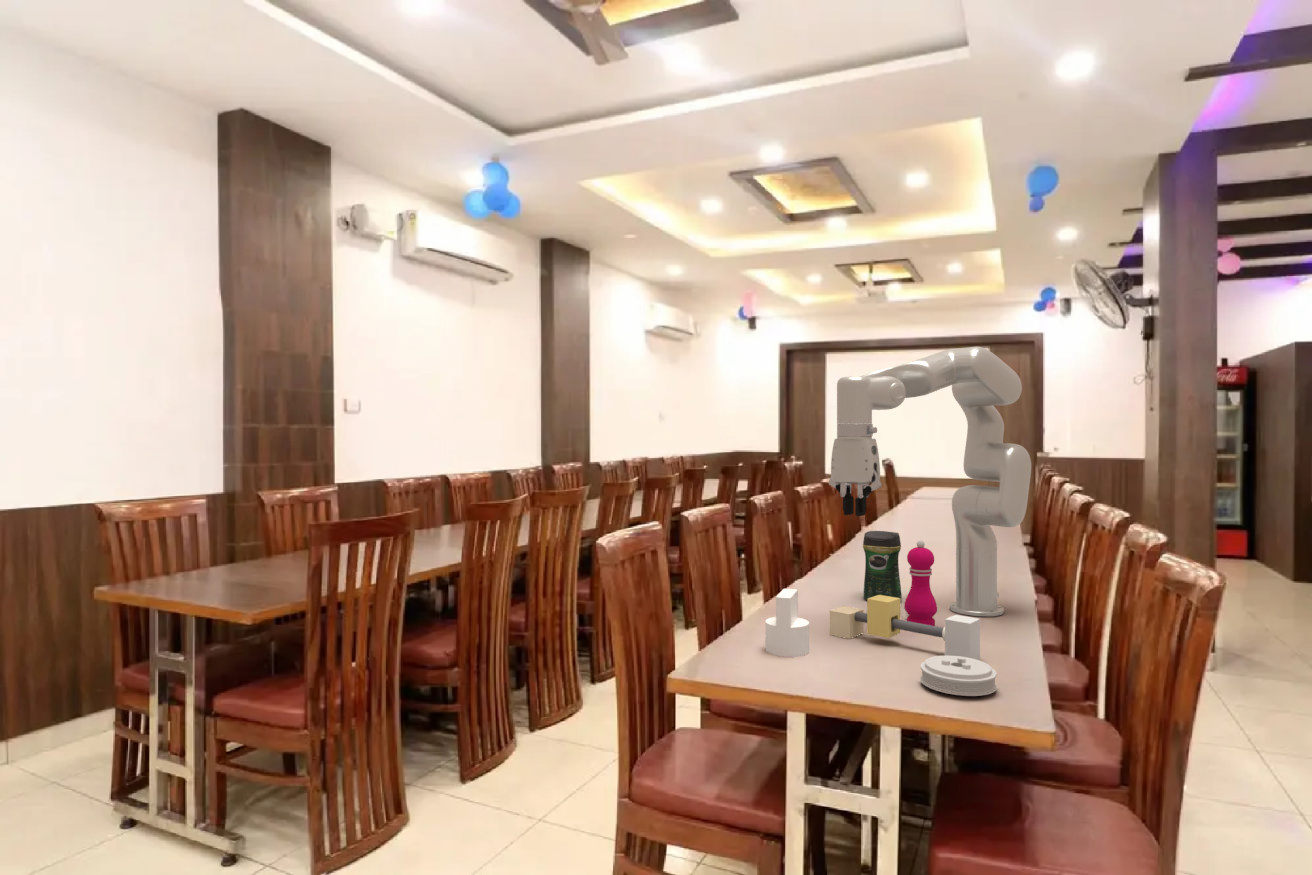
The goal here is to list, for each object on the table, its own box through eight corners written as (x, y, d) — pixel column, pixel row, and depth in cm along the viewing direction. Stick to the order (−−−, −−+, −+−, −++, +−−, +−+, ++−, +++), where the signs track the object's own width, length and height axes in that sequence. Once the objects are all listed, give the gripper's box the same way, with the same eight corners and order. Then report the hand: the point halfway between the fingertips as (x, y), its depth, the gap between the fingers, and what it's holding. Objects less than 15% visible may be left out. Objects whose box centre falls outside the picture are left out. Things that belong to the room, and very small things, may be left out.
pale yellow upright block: (878, 628, 167) (878, 594, 167) (900, 633, 163) (900, 598, 163) (867, 633, 163) (867, 598, 163) (888, 638, 160) (888, 602, 160)
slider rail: (843, 629, 173) (843, 594, 173) (980, 657, 152) (980, 618, 152) (829, 634, 169) (829, 599, 169) (969, 664, 148) (969, 624, 148)
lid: (985, 678, 140) (985, 651, 140) (1005, 703, 128) (1005, 673, 128) (914, 675, 142) (914, 649, 142) (927, 699, 130) (927, 670, 130)
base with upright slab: (805, 658, 152) (805, 599, 152) (761, 654, 155) (761, 596, 155) (812, 646, 161) (812, 590, 160) (770, 642, 164) (770, 587, 164)
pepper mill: (939, 630, 172) (939, 543, 172) (906, 629, 173) (906, 542, 173) (934, 622, 179) (934, 538, 179) (902, 621, 181) (902, 537, 180)
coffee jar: (904, 599, 203) (904, 530, 203) (896, 605, 196) (896, 534, 196) (868, 595, 208) (868, 528, 208) (859, 601, 202) (859, 531, 201)
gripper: (896, 432, 165) (896, 516, 165) (831, 432, 176) (831, 511, 176) (879, 432, 159) (879, 519, 160) (813, 432, 170) (814, 513, 171)
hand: (854, 514), depth 168 cm, fingers closed
